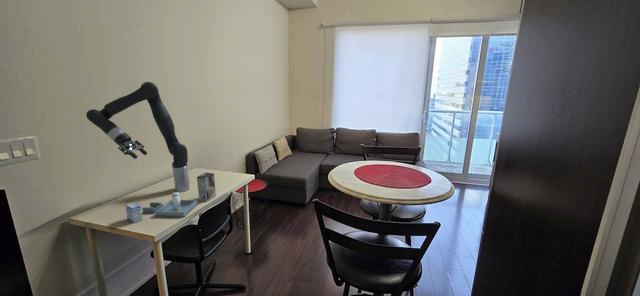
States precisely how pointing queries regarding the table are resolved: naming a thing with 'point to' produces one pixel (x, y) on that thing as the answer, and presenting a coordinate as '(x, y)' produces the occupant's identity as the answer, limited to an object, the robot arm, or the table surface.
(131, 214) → the medicine box
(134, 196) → the table surface
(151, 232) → the table surface
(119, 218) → the table surface
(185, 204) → the parts tray
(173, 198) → the white dome cap bottle
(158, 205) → the holder
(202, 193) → the coffee box
